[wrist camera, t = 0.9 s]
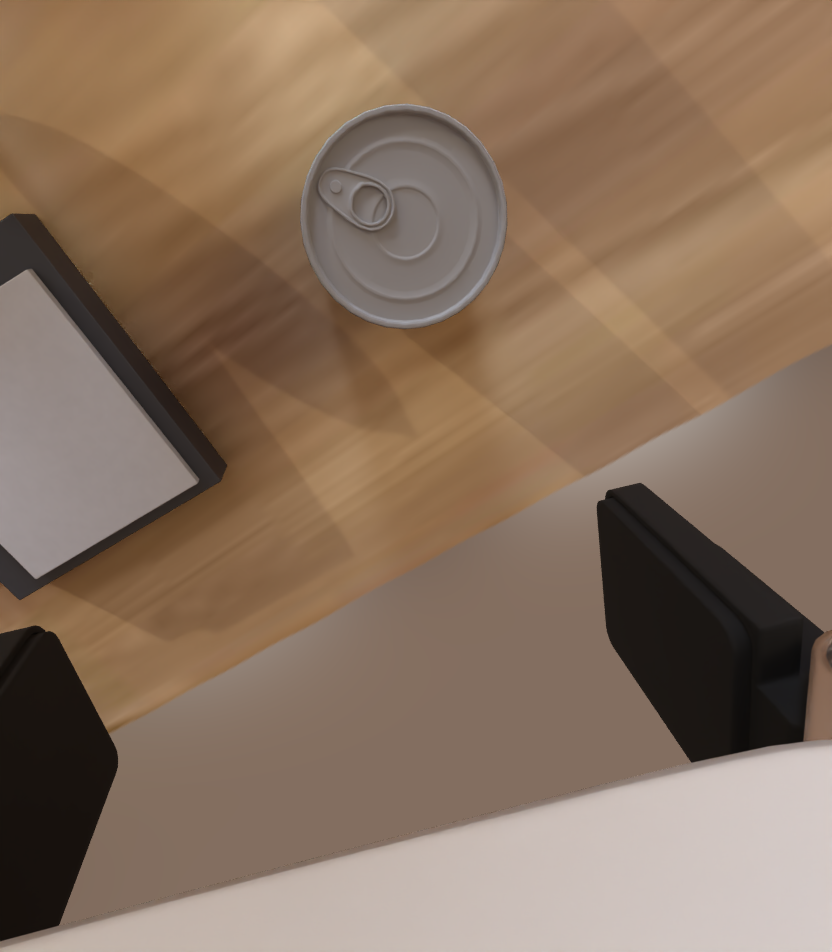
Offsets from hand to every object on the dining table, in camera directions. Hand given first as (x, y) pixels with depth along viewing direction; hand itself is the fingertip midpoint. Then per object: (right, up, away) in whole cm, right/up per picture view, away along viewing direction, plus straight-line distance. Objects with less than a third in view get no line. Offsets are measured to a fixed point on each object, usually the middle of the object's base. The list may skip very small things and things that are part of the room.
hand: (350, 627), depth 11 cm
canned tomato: (-1, +16, +23) cm, 28 cm away
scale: (-21, +5, +24) cm, 33 cm away
